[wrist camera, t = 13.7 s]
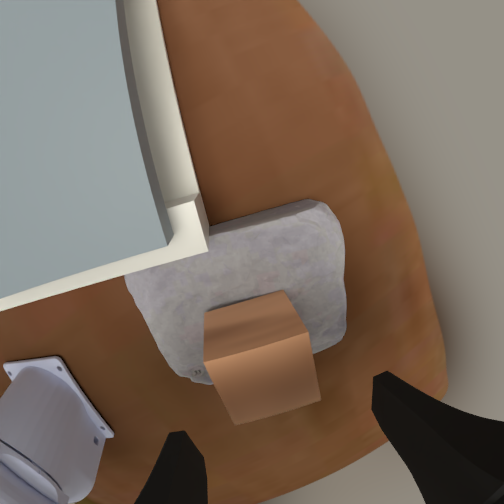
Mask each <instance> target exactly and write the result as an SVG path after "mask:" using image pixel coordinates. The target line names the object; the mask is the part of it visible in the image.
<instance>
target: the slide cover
mask: <svg viewBox="0 0 504 504" xmlns="http://www.w3.org/2000/svg"><path fill="white" fill-rule="evenodd" d="M173 236H174V234H173V231H172V227H171V224H170V220H169V217H168V214H167V210H166V207H165V203H164V200H163V196H162V192H161V189H160V185H159V181H158V178H157V174H156V170H155V166H154V162H153V158H152V154H151V150H150V146H149V142H148V137H147V133H146V129H145V124H144V120H143V115H142V111H141V106H140V101H139V96H138V91H137V86H136V81H135V75H134V70H133V64H132V58H131V52H130V46H129V39H128V32H127V25H126V18H125V10H124V1H123V0H0V299H1V298H4V297H7V296H10V295H13V294H16V293H19V292H22V291H25V290H28V289H31V288H34V287H37V286H40V285H43V284H46V283H49V282H52V281H55V280H58V279H61V278H64V277H67V276H70V275H74V274H77V273H80V272H83V271H86V270H89V269H93V268H96V267H99V266H102V265H106V264H109V263H112V262H116V261H119V260H122V259H125V258H129V257H132V256H136V255H139V254H142V253H146V252H149V251H153V250H156V249H159V248H163V247H166V246H168V245H169V243H170V241H171V239H172V238H173Z"/></svg>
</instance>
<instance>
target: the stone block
mask: <svg viewBox="0 0 504 504" xmlns="http://www.w3.org/2000/svg"><path fill="white" fill-rule="evenodd" d="M344 266H345V246H344V238H343V234H342V230H341V226H340V223H339V221H338V219H337V218H336V216H335V215H334V214H333V212H332V211H331V210H330V208H329V207H328V206H327V204H325V203H323V202H320V201H314V200H311V199H304V200H301V201H298V202H293V203H289V204H286V205H283V206H279V207H276V208H272V209H268V210H265V211H261V212H258V213H255V214H251V215H248V216H245V217H241V218H237V219H234V220H230V221H227V222H224V223H220V224H217V225H214V226H210V227H209V248H208V252H204V253H201V254H197V255H193V256H190V257H186V258H183V259H179V260H175V261H172V262H168V263H165V264H161V265H157V266H154V267H150V268H147V269H143V270H140V271H136V272H133V273H129V274H126V275H124V277H125V282H126V285H127V288H128V290H129V292H130V293H131V294H132V296H133V298H134V300H135V303H136V306H137V307H138V308H139V310H140V311H141V313H142V315H143V317H144V319H145V321H146V323H147V325H148V327H149V329H150V332H151V333H152V335H153V337H154V339H155V341H156V343H157V346H158V348H159V350H160V351H161V353H162V354H163V356H164V358H165V359H166V361H167V363H168V364H169V366H170V367H171V368H172V369H173V370H174V372H175V373H176V374H178V375H179V376H181V377H189V378H190V379H191V381H193V382H197V383H203V384H208V385H211V384H213V382H212V380H211V378H210V376H209V373H208V371H207V369H206V367H205V365H204V363H203V346H204V313H205V312H209V311H212V310H216V309H219V308H223V307H226V306H230V305H233V304H237V303H240V302H243V301H247V300H250V299H253V298H257V297H260V296H263V295H267V294H270V293H273V292H276V291H280V290H284V292H285V293H286V295H287V297H288V298H289V300H290V302H291V303H292V305H293V307H294V308H295V310H296V312H297V313H298V315H299V317H300V318H301V320H302V322H303V323H304V325H305V327H306V328H307V330H308V332H309V337H310V342H311V348H312V353H313V354H314V353H317V352H319V351H322V350H324V349H326V348H328V347H330V346H332V345H335V344H336V343H337V342H339V341H341V340H342V338H343V336H344V334H345V331H346V327H347V325H346V309H347V304H346V292H345V287H344V280H343V277H344Z"/></svg>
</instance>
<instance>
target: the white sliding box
mask: <svg viewBox="0 0 504 504" xmlns="http://www.w3.org/2000/svg"><path fill="white" fill-rule="evenodd" d="M123 1H124V10H125V18H126V25H127V32H128V39H129V46H130V52H131V58H132V64H133V70H134V75H135V81H136V86H137V91H138V96H139V101H140V106H141V111H142V115H143V120H144V124H145V129H146V133H147V137H148V142H149V146H150V150H151V154H152V158H153V162H154V166H155V170H156V174H157V178H158V181H159V185H160V189H161V192H162V196H163V200H164V203H165V207H166V210H167V214H168V217H169V220H170V224H171V227H172V231H173V234H174V236H173V238H172V239H171V241H170V243H169V245H168V246H166V247H163V248H159V249H156V250H153V251H149V252H146V253H142V254H139V255H136V256H132V257H129V258H125V259H122V260H119V261H116V262H112V263H109V264H106V265H102V266H99V267H96V268H93V269H89V270H86V271H83V272H80V273H77V274H74V275H70V276H67V277H64V278H61V279H58V280H55V281H52V282H49V283H46V284H43V285H40V286H37V287H34V288H31V289H28V290H25V291H22V292H19V293H16V294H13V295H10V296H7V297H4V298H1V299H0V311H3V310H6V309H9V308H13V307H16V306H19V305H23V304H26V303H29V302H33V301H36V300H39V299H43V298H46V297H50V296H53V295H56V294H60V293H63V292H67V291H70V290H73V289H77V288H80V287H84V286H87V285H91V284H94V283H98V282H101V281H104V280H108V279H111V278H115V277H118V276H122V275H126V274H129V273H133V272H136V271H140V270H143V269H147V268H150V267H154V266H157V265H161V264H165V263H168V262H172V261H175V260H179V259H183V258H186V257H190V256H193V255H197V254H201V253H204V252H208V248H209V222H208V219H207V215H206V211H205V208H204V204H203V200H202V196H201V193H200V189H199V185H198V181H197V177H196V174H195V170H194V166H193V162H192V158H191V154H190V150H189V146H188V142H187V138H186V134H185V130H184V126H183V122H182V117H181V113H180V109H179V105H178V100H177V96H176V92H175V87H174V83H173V78H172V74H171V69H170V65H169V60H168V55H167V51H166V46H165V41H164V36H163V31H162V26H161V21H160V16H159V11H158V5H157V0H123Z"/></svg>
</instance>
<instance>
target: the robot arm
mask: <svg viewBox="0 0 504 504" xmlns="http://www.w3.org/2000/svg"><path fill="white" fill-rule="evenodd" d="M59 366H60V367H61V368H60V367H59ZM3 367H4V369H5V371H6V372H7V374H8V376H9V377H10V379H11V380H12V383H11V384H10V385H9V387H8V388H7V390H6V391H5V393H4V394H3V396H2V397H1V398H0V504H68V503H74V502H78V501H80V500H82V499H83V498H85V497H86V496H87V495H88V494H89V492H90V491H91V490H92V488H93V486H94V483H95V479H96V475H97V470H98V466H99V462H100V458H101V455H102V451H103V447H104V443H105V440H106V438H113V437H114V432H113V431H112V430H111V429H110V427H109V426H108V425H107V424H106V422H105V421H104V420H103V419H102V417H101V416H100V415H99V413H98V412H97V411H96V410H95V408H94V407H93V405H92V404H91V403H90V401H89V400H88V399H87V397H86V396H85V394H84V393H83V392H82V390H81V389H80V387H79V386H78V384H77V383H76V381H75V380H74V378H73V377H72V375H71V374H70V372H69V370H68V369H67V367H66V366H65V364H64V362H63V361H62V359H61V358H60V357H58V356H52V357H45V358H38V359H30V360H22V361H14V362H6V363H4V365H3ZM372 411H373V413H374V415H375V417H376V419H377V421H378V423H379V425H380V427H381V429H382V431H383V432H384V434H385V435H386V436H387V438H388V439H389V441H390V442H391V444H392V445H393V447H394V448H395V450H396V451H397V452H398V454H399V455H400V457H401V458H402V460H403V461H404V462H405V464H406V465H407V467H408V469H409V470H410V472H411V473H412V475H413V478H414V479H415V482H416V484H417V486H418V487H419V490H420V492H421V494H422V496H423V498H424V501H425V503H426V504H504V422H502V421H497V420H492V419H487V418H483V417H479V416H476V415H473V414H469V413H467V412H463V411H461V410H458V409H456V408H454V407H451V406H449V405H447V404H445V403H442V402H440V401H438V400H436V399H434V398H433V397H431V396H429V395H427V394H425V393H423V392H422V391H420V390H418V389H416V388H415V387H413V386H411V385H410V384H408V383H406V382H405V381H403V380H401V379H400V378H398V377H397V376H395V375H393V374H392V373H390V372H389V371H385V372H383V373H381V374H379V375H377V376H374V377H373V393H372ZM134 504H208V495H207V475H206V468H205V462H204V457H203V456H202V454H201V453H200V452H199V450H198V449H197V448H196V446H195V445H194V443H193V442H192V441H191V439H190V438H189V436H188V435H187V433H186V432H185V431H179V432H171V433H169V434H168V436H167V439H166V441H165V443H164V446H163V448H162V450H161V453H160V455H159V457H158V460H157V462H156V464H155V466H154V468H153V470H152V472H151V474H150V476H149V478H148V480H147V482H146V484H145V486H144V488H143V489H142V491H141V493H140V495H139V496H138V498H137V500H136V501H135V503H134Z"/></svg>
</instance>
